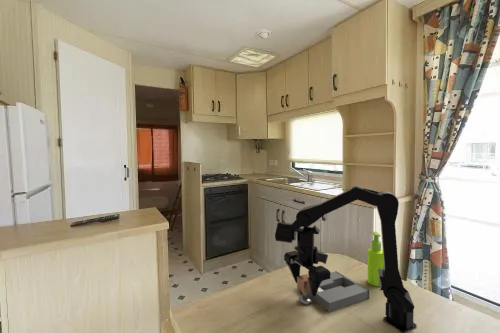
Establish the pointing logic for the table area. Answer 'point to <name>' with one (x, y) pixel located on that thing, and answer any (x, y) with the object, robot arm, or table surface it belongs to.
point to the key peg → (304, 289)
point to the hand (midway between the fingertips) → (305, 288)
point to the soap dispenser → (375, 260)
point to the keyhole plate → (339, 292)
